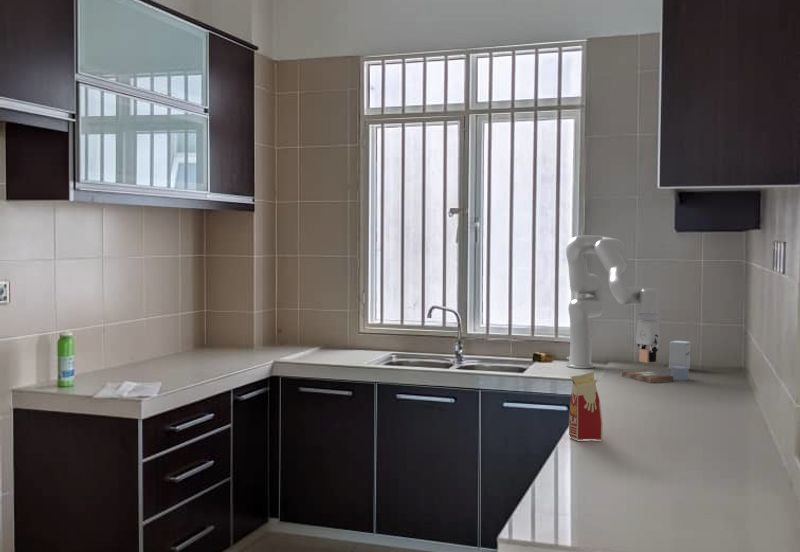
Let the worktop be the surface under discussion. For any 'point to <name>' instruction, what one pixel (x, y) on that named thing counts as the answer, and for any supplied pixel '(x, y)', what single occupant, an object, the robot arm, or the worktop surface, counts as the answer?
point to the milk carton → (585, 409)
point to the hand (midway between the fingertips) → (647, 360)
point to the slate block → (680, 373)
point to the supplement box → (679, 354)
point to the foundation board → (647, 376)
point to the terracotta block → (645, 355)
